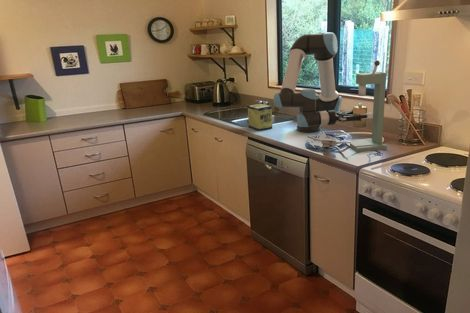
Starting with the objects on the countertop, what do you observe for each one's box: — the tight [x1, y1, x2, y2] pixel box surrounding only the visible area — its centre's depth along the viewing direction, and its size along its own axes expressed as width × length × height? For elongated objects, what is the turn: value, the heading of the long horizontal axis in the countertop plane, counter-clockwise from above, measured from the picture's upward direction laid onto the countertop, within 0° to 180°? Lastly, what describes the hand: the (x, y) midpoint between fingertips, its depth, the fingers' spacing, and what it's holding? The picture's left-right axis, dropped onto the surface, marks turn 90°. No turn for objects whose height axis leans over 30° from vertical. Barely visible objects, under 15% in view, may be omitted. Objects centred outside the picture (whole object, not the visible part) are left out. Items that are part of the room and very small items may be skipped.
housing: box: [352, 102, 368, 129], centre depth 195 cm, size 7×7×12 cm
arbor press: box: [349, 60, 388, 153], centre depth 194 cm, size 16×16×46 cm
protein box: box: [247, 103, 273, 132], centre depth 255 cm, size 10×16×16 cm
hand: (368, 114), depth 196 cm, fingers closed on housing, 7 cm apart
